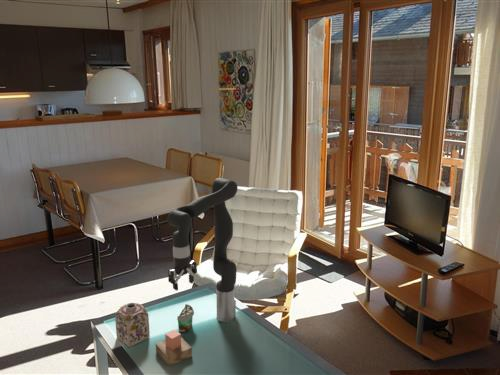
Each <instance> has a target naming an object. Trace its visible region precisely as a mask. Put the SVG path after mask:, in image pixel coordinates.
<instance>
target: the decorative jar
mask: <svg viewBox="0 0 500 375" xmlns="http://www.w3.org/2000/svg"><path fill="white" fill-rule="evenodd" d="M114 318H115V331H116V332H115V333H116V338H117V339H118V340H119V341H120V342H122V343H123V344H124V345H126V346H127V347H128V348H131V347H133V346H136V345H138V344H139V343H141V342H143V341H145V340H147V339H149V338H150V337H151V336H150V334H151V333H150V322H149V320H150V319H149V312H148V311H147V309H146V308H145V307H144V306H143V305H142V304H140V303H135V302H129V303H126V304H123V305H122V306H120V308H119V309H118V310H117V311H116V312H115V313H114Z"/></svg>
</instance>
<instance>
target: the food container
mask: <svg viewBox="0 0 500 375" xmlns="http://www.w3.org/2000/svg"><path fill="white" fill-rule="evenodd" d="M194 311H195V310H194V308H193V307H192V306H191V305H190V304H187V303H186V304H185V306H184V308H183V309H182V310H181V312H180V313H179V315H177V318H176V320H177V324H178V325H177V326H178V327H177V328H178V332H179V333H180V334H185V333H188V332H189V331H191V330H192V328H193V317H194V315H195V312H194Z"/></svg>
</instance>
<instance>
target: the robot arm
mask: <svg viewBox="0 0 500 375" xmlns="http://www.w3.org/2000/svg"><path fill="white" fill-rule="evenodd" d="M237 192H238V184H237V183H236V181H234V180H233V179H227V178H223V177H217V178H215V179H214V181H213V182H212V186H211V193H210V194H206V195H202V196H200V197H197V198H195V199H194V200H193V201H190V202H189V203H188V204H185V205H182V206H179V207H177V208H174V209H173V210H171V211H170V212H169V214H168V215H167V223H168V225H170V226H172V227H175V228H178V230H176V231H174V232H173V233H172V256H173V258H172V259H173V260H172V261H173V266H174V267H173V269H168V272H167V273H168V274H167V278H168V283H170V284H172V288H173V290H174V291H176V292H177V291H178V290H179V287H178V286H179V284H178V281H179V280H180V279H181V277H183V276H185V275H187V274H188V282H189V284H193V283H194V281H195V277H194V275H196V274H197V273H198V267H197V262H196V261H195V260H192V259H191V248H190V247H191V246H190V241H189V240H190V237H189V235H190V231H191V227H192V221H193V220H192V219H195V218H198V217H200V216H201V215H202V214H204V213H205V212H206V211H208V210H210V209H212V208H213V215H214V216H213V218H214V223H213V224H214V225H213V226H214V228H213V229H214V252H213V253H214V254H213V264H212V267H213V271H214V272H215V274H217V275H218V276H220V277H221V279H220V280H218V281H217V283H216V288H215V289H216V292H215V293H216V320H217V321H219V322H222V323H229V322H232V321H233V320H234V319H235V317H236V316H237V314H236V313H237V312H236V311H237V309H236V308H237V307H236V306H237V304H236V302H237V300H236V299H235V285H236V284H237V283H236V282H237V265H236V263H235V262H234V261H233V260H230V258H228V245H229V244H230V242H231V240H232V238H233V234H234V223H233V219H232V216H231V214H230V212H229V211H228V209H227V206H226V201H229V200H231V199H233V198H234V197H235V196H236V194H237Z"/></svg>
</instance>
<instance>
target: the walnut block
mask: <svg viewBox="0 0 500 375" xmlns="http://www.w3.org/2000/svg"><path fill="white" fill-rule="evenodd" d="M192 349H193V348H192V346H191V345H190V344H189V343H188V342H187V341H186V340H185V339H184V338H183V337H182V336H181V346H179V347H178V348H176V349H174V350H171V349H170V348H168V347H167V346H166V340H165V339H164V340H162V341H159V342H157V343H155V353H156V354H157V355H158V356H159V357H160V359H161V360H162V361H163V363H165V365H166V366H167V367H170V366H172V365H175V364H177V363H179V362H182V361H184V360H186V359H188V358H190V357H192V356H193V354H192V353H193V352H192V351H193V350H192Z"/></svg>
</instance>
